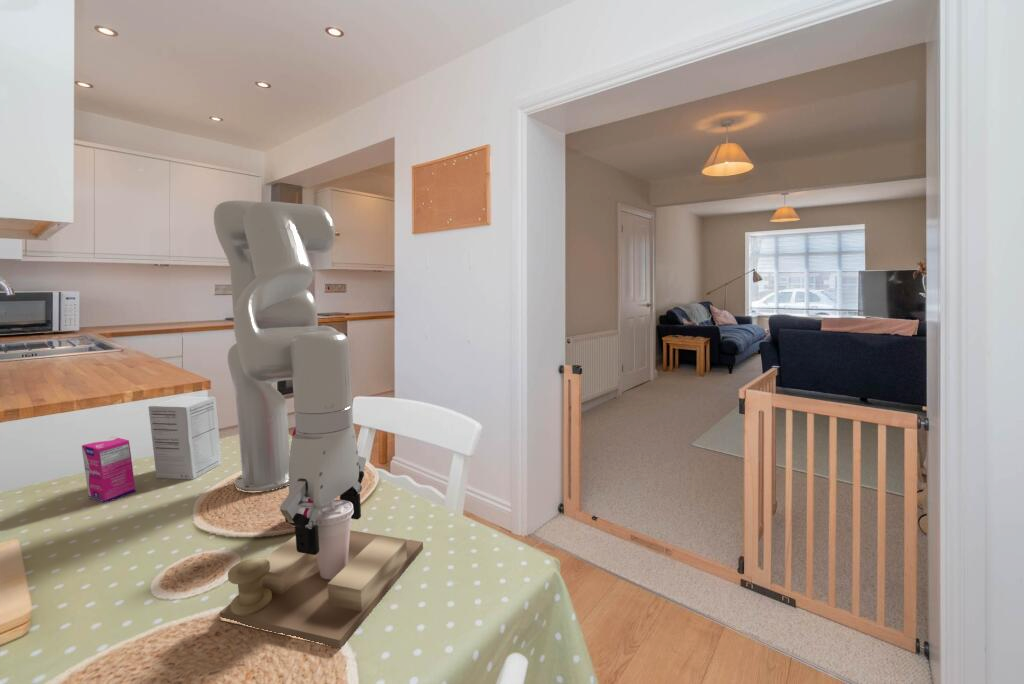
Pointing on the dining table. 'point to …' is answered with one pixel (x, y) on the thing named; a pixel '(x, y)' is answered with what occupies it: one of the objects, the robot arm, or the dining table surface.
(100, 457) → the supplement box
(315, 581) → the notched board
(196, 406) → the supplement box
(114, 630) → the dining table surface
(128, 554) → the dining table surface
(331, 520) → the smoothie
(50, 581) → the dining table surface
